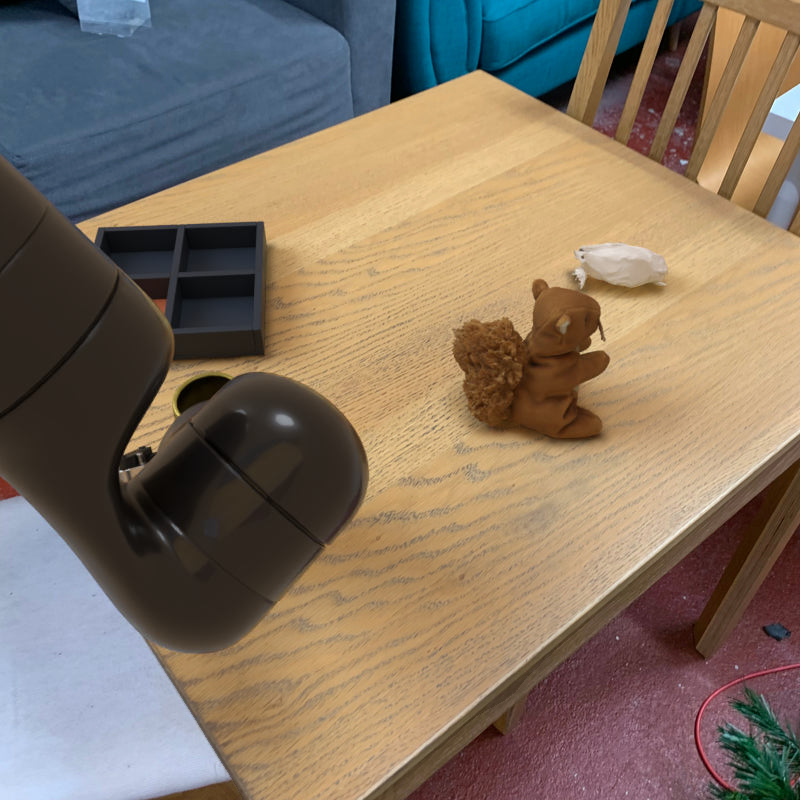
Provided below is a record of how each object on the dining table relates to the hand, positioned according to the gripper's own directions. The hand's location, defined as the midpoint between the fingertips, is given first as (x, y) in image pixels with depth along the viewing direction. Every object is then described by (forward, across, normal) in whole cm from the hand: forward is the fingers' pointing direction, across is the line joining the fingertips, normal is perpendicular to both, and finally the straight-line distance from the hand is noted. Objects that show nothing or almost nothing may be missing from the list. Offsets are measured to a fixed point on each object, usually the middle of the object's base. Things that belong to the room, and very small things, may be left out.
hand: (218, 442), depth 61 cm
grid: (+24, 0, -14) cm, 28 cm away
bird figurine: (+17, -47, -6) cm, 50 cm away
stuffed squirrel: (+7, -29, +4) cm, 30 cm away
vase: (+4, 0, +6) cm, 8 cm away
